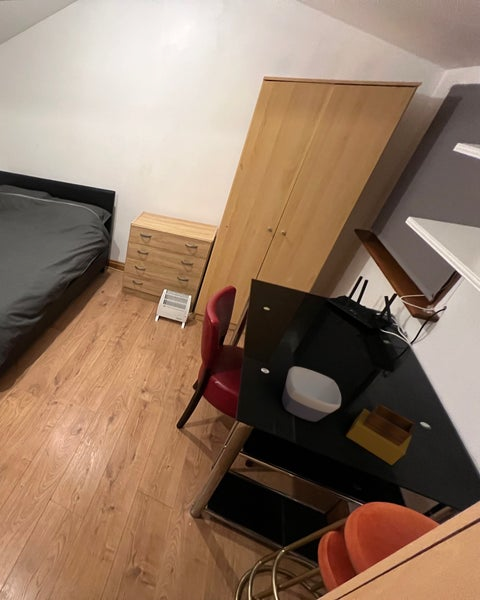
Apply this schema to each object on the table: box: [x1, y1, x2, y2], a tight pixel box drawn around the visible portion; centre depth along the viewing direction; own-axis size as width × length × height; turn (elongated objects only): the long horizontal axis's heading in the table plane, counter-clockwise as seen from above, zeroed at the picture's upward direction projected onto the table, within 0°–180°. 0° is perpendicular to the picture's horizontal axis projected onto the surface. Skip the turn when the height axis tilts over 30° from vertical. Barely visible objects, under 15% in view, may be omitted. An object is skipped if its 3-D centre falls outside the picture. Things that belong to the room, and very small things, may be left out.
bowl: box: [281, 365, 342, 423], centre depth 108 cm, size 15×15×11 cm
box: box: [345, 407, 413, 466], centre depth 100 cm, size 12×10×6 cm
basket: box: [363, 402, 416, 446], centre depth 97 cm, size 9×7×6 cm
